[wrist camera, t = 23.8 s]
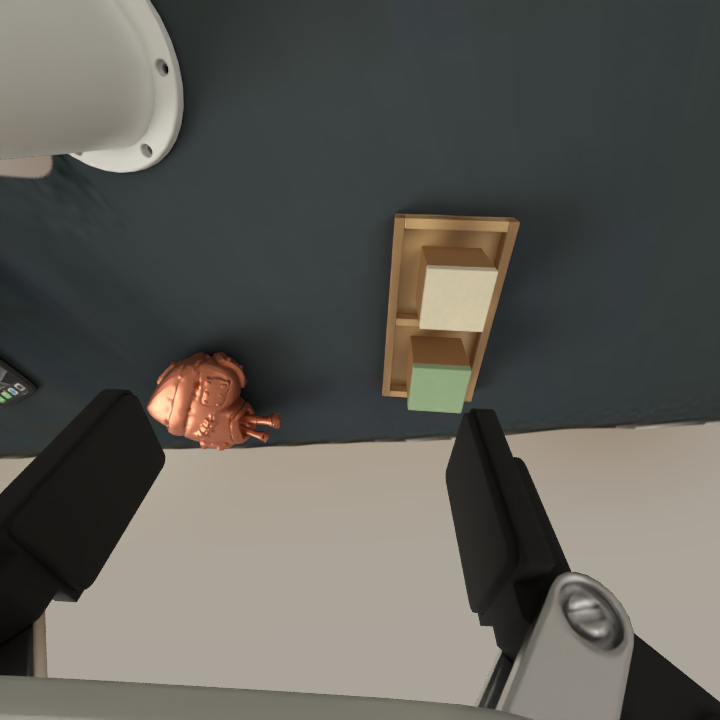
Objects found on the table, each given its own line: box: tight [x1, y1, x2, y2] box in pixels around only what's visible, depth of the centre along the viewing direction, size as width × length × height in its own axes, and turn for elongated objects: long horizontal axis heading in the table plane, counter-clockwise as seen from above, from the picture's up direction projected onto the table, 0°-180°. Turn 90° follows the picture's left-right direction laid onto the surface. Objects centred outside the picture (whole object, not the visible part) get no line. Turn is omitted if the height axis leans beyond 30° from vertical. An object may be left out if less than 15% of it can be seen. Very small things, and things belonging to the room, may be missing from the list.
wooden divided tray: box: [382, 213, 520, 401], centre depth 32 cm, size 10×18×2 cm, turn 179°
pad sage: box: [406, 336, 472, 413], centre depth 33 cm, size 5×5×6 cm
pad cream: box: [416, 246, 498, 332], centre depth 28 cm, size 5×5×6 cm
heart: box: [147, 352, 282, 450], centre depth 38 cm, size 6×12×15 cm
